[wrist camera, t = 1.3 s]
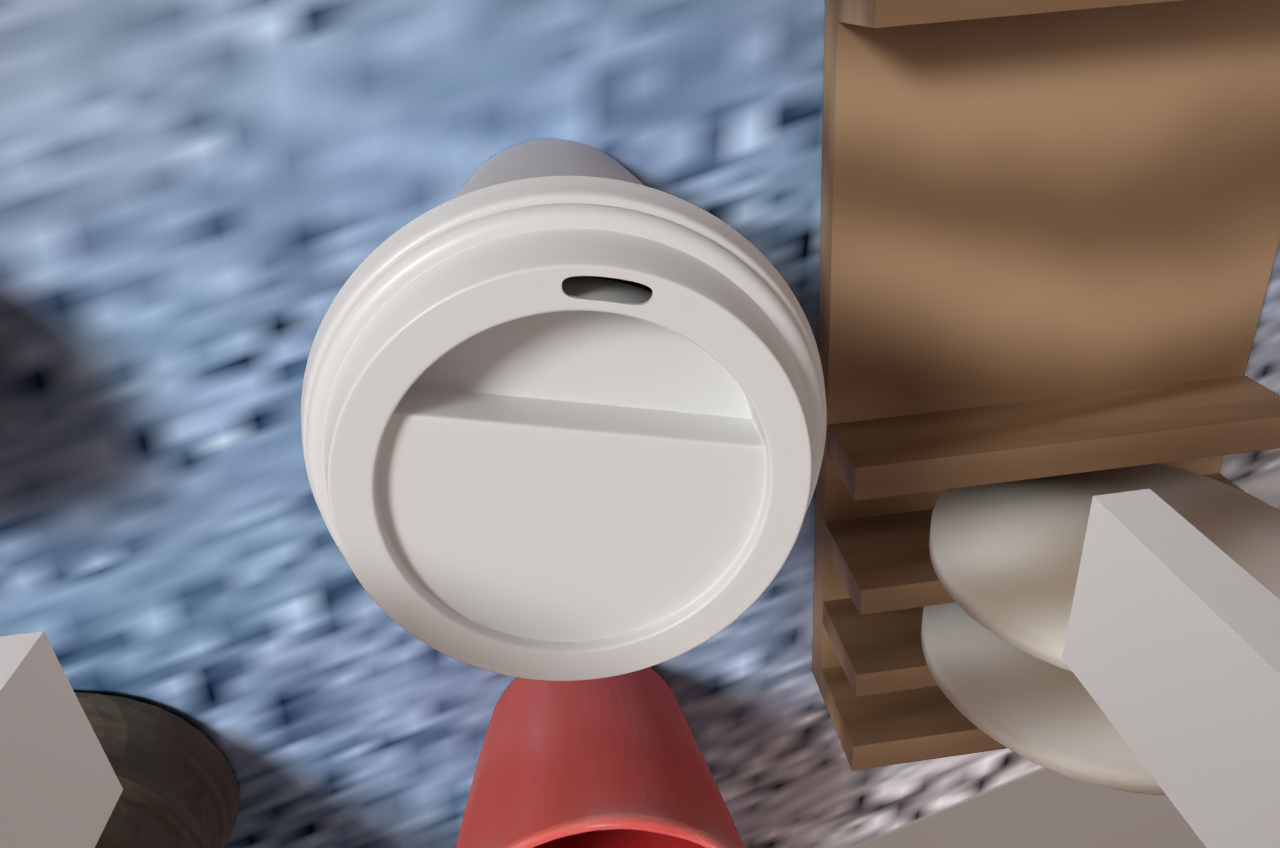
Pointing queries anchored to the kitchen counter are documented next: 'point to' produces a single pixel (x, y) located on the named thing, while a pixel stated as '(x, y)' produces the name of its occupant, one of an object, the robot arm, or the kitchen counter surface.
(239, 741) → the kitchen counter surface
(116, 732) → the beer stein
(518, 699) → the flower pot
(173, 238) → the kitchen counter surface
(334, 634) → the kitchen counter surface
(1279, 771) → the robot arm
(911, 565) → the dish rack
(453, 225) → the coffee cup
